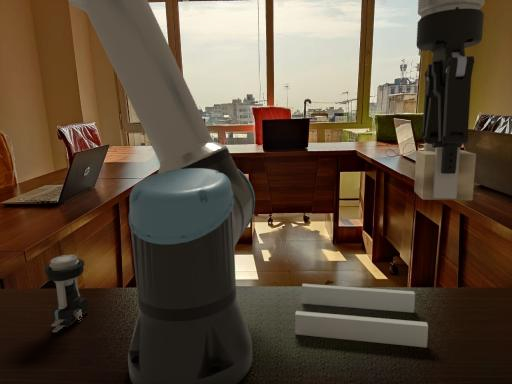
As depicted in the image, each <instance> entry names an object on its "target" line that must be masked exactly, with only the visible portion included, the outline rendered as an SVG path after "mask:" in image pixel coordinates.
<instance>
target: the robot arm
mask: <svg viewBox="0 0 512 384" xmlns="http://www.w3.org/2000/svg"><path fill="white" fill-rule="evenodd" d="M67 1H68V2H69V4H70V5H71V6H72V7H74V8H76V9H78V10H82V11H84V12H85V13H86V14H87V16H88V17H87V18H89V21H90V23H91V26H92V27H93V28H94V31H95V33H96V35H97V37H98V39H99V41H100V44H101V46H102V47H103V49H104V52H105V53H106V56H107V58H108V60H109V62H110V64H111V65H112V67H113V70H114V72H115V74H116V76H117V78H118V80H119V81H120V84H121V86H122V88H123V90H124V92H125V94H126V96H127V99H128V100H129V102H130V105H131V106H132V108H133V111H134V114H135V115H136V117H137V119H138V121H139V122H140V124H141V126H142V129H143V131H144V133H145V135H146V137H147V139H148V141H149V143H150V145H151V148H152V149H153V151H154V154H155V155H156V158H157V159H158V162H159V168H158V171H157V173H154V174H151V175H149V176H147V177H144V178H143V179H140V180H139V181H138V182H137V183H135V185H134V186H133V187H132V189H131V191H130V193H129V212H128V223H129V224H128V225H129V227H130V235H131V244H132V253H133V262H134V272H135V282H136V293H137V301H138V314H137V318H136V321H135V325H134V329H133V333H132V336H131V337H132V338H131V340H130V341H131V342H130V345H129V350H128V355H127V356H128V357H127V363H128V373H129V379H130V382H131V384H239V383H240V382H241V381H242V380H243V379H244V378H245V376H246V375H247V374H248V372H249V371H250V369H251V367H252V364H253V340H252V336H251V332H250V330H249V327H248V325H247V322H246V320H245V318H244V315H243V313H242V309H241V307H240V305H239V302H238V299H237V286H236V285H237V284H236V282H237V280H236V259H235V258H236V257H235V256H236V255H235V249H236V248H235V247H236V245H237V243H239V239H240V238H241V236H242V235H243V233H244V232H245V231H246V230H247V228H248V227H249V225H250V223H251V221H252V219H253V217H254V214H255V207H256V206H255V205H256V196H255V191H254V188H253V185H252V183H251V182H250V180H249V178H248V177H247V175H245V173H243V172H242V171H241V170H240V169H238V167H237V166H236V163H235V161H234V160H233V157H232V155H231V153H230V151H229V148H228V147H227V145H224V144H222V143H220V142H217V141H215V140H214V139H213V138H212V135H211V134H210V131H209V130H208V129H209V128H208V127H207V125H206V122H205V120H204V118H203V116H202V114H201V112H200V110H199V108H198V105H197V103H196V100H195V99H194V96H193V95H192V93H191V91H190V88H189V86H188V84H187V82H186V80H185V78H184V76H183V74H182V71H181V69H180V67H179V65H178V63H177V60H176V58H175V56H174V55H173V53H172V49H171V48H170V45H169V44H168V41H167V39H166V38H165V35H164V33H163V31H162V28H161V26H160V25H159V22H158V20H157V17H156V15H155V13H154V12H153V9H152V6H151V5H150V3H149V0H67ZM485 3H486V2H485V0H418V3H417V14H418V15H419V16H420V19H419V20H418V21H417V31H416V47H417V49H419V51H425V52H427V51H430V52H432V58H431V59H432V60H431V63H430V64H429V63H428V65H427V67H426V68H427V69H426V70H425V72H424V84H425V86H424V87H425V89H424V100H423V101H424V102H423V113H422V114H423V115H422V128H421V131H422V132H421V133H420V135H421V137H422V139H423V142H424V144H423V145H424V146H423V147H424V148H423V151H434V150H435V164H434V180H433V195H432V197H433V198H449V199H456V197H457V184H458V171H459V158H460V150H461V148H462V146H463V144H467V143H468V139H469V123H470V122H469V119H470V103H471V89H472V88H471V86H472V74H473V69H474V64H475V58H474V56H473V55H471V56H470V55H469V56H466V52H465V51H466V48H467V49H468V48H471V47H474V46H477V45H478V44H480V43H481V42H482V40H483V31H484V19H485V18H484V17H485V13H484V12H483V11H482V10H481V8H482V7H484V5H485Z"/></svg>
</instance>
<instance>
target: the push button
mask: <svg viewBox="0 0 512 384" xmlns="http://www.w3.org/2000/svg"><path fill="white" fill-rule="evenodd" d="M84 267H85V260H83V259H80V258H78V257H77V255H75V254H63V255H59V256H56V257H54V258H52V259H50V263H49V264H48V265H46V266H45V267H44V268H43V269H44V270H43V271H44V273H45V274H46V278H47V280H48V281H53V282H54V284H55V287H56V294H57V307H58V309H56V310H55V312H54V317H55V320H54V322H53V323H52V324H51V325H50V326H51V327H55V328H54V329H53V330H51V331H52V333H57V332H58V331H60V330H61V329H64V328H63V327H64V326H68V325H69V324H70V323H71V322H73V321H74V320H75V319H76V318H77V319H78V320H80V319H81V318H80V319H79V316H81V317H83V316H82V313H83V314H84V313H85V312H86V311H88V312H89V309H88V302H87V301H88V300H87V298H81V294H80V292H79V290H80V289H79V284H78V278H79V277H80V276H81V275H82V274H83V273H84V272H85V271H84V269H85V268H84ZM80 321H81V320H80ZM57 325H58V326H57Z"/></svg>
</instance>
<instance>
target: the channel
mask: <svg viewBox="0 0 512 384" xmlns="http://www.w3.org/2000/svg"><path fill="white" fill-rule="evenodd" d="M301 285H302V286H301V304H304V305H315V306H328V307H330V306H331V307H341V308H342V307H343V308H350V309H351V308H354V309H364V310H374V311H375V310H377V311H390V312H402V313H415V303H416V292H415V291H414V290H413V291H412V290H398V289H384V288H369V287H358V286H357V287H356V286H355V287H354V286H341V285H329V284H328V285H327V284H313V283H312V284H311V283H302V284H301ZM294 323H295V324H294V327H295V328H294V329H295V331H294V333H295V335H297V336H298V335H299V336H307V337H308V336H309V337H310V336H311V337H317V338H318V337H320V338H329V339H338V340H349V341H357V342H358V341H360V342H369V343H379V344H388V345H389V344H390V345H396V346H397V345H400V346H409V347H417V348H428V335H429V325H428V322H426V321H418V320H417V321H416V320H404V319H396V318H395V319H392V318H381V317H370V316H359V315H347V314H338V313H337V314H334V313H324V312H313V311H301V310H296V311H295V315H294Z"/></svg>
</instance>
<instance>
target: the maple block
mask: <svg viewBox="0 0 512 384" xmlns="http://www.w3.org/2000/svg"><path fill="white" fill-rule="evenodd" d="M415 152H416V153H415V169H414V187H413V188H414V189H413V190H414V193H415V194H416V195H417V196H418V197H419V198H420V199H422V200H427V201H428V200H429V201H437V200H438V201H473V200H474V199H473V198H474V186H475V174H476V173H475V172H476V162H477V160H476V159H477V153H474V152H471V151H467V150H462V149H460V158H459V171H458V184H457V197H456V199H449V198H433V197H432V195H433V180H434V164H435V150H434V151H424V150H416V151H415Z"/></svg>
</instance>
